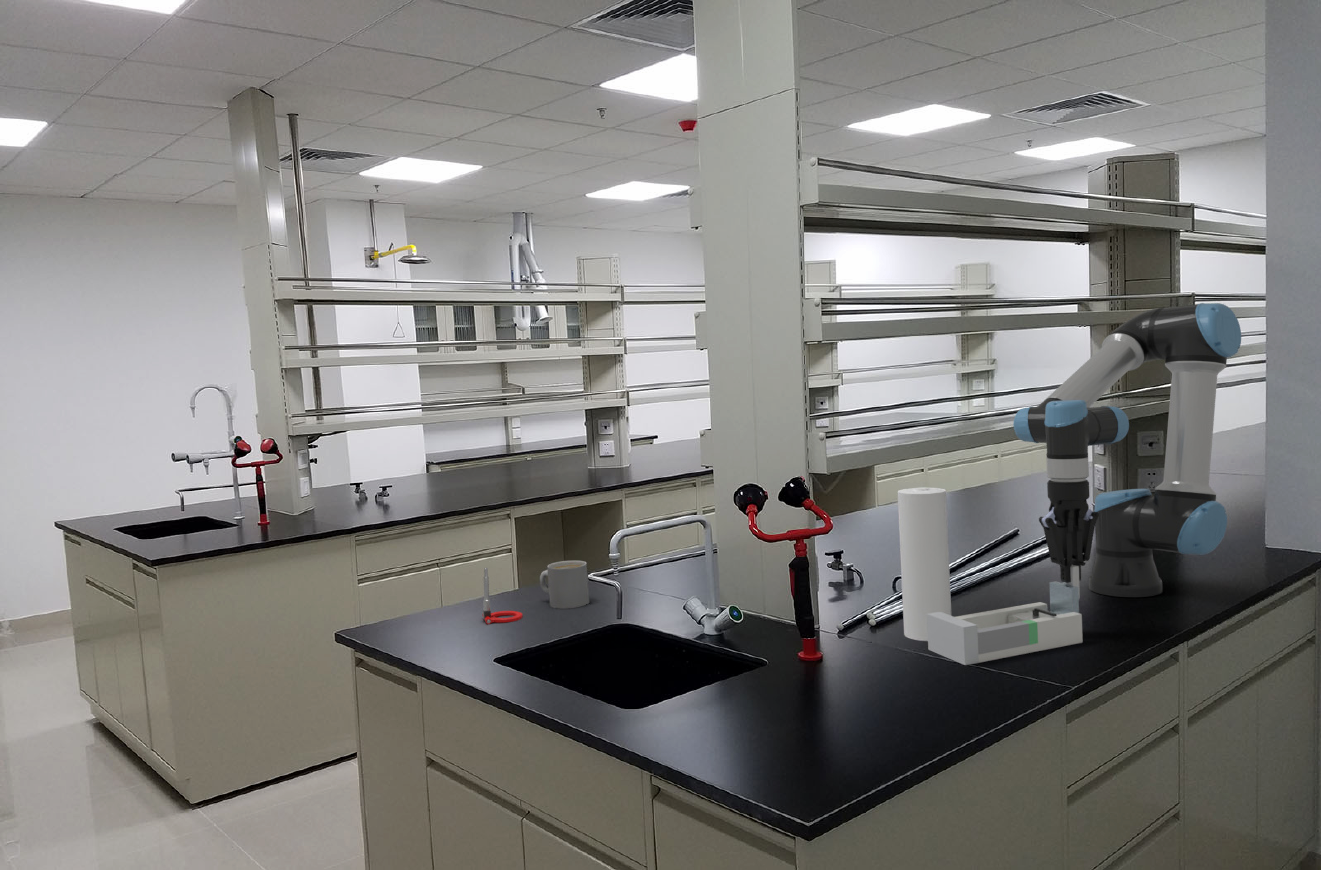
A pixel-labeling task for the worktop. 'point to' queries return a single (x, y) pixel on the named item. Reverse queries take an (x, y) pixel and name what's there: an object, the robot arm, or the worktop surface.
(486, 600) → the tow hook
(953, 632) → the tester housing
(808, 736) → the worktop surface
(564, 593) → the coffee mug
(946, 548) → the cylinder container
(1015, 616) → the plunger
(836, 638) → the worktop surface
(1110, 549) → the robot arm
